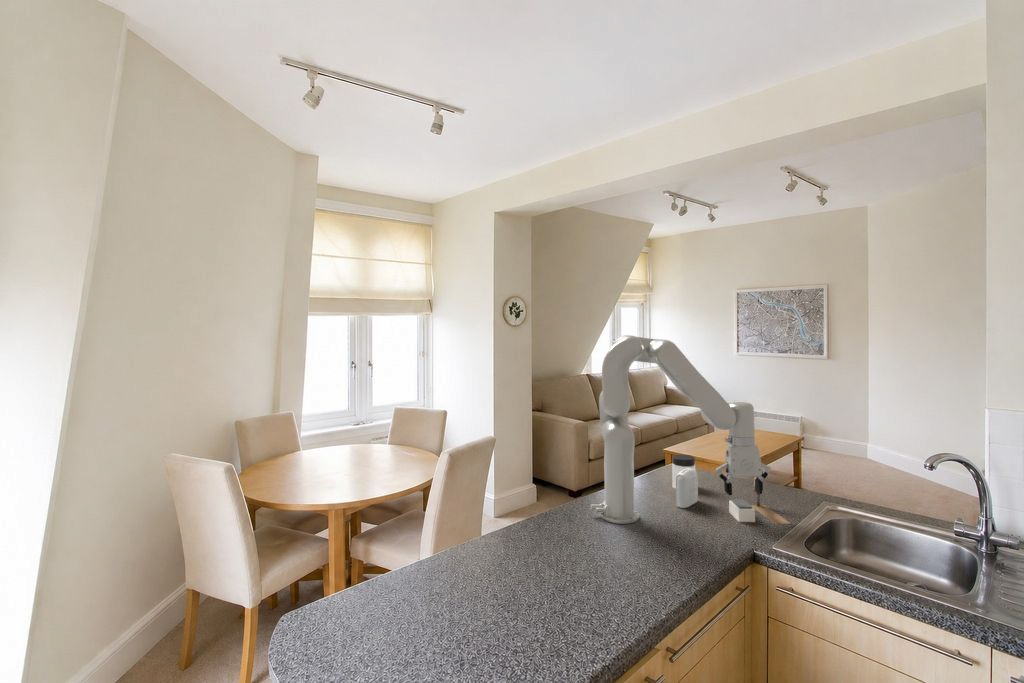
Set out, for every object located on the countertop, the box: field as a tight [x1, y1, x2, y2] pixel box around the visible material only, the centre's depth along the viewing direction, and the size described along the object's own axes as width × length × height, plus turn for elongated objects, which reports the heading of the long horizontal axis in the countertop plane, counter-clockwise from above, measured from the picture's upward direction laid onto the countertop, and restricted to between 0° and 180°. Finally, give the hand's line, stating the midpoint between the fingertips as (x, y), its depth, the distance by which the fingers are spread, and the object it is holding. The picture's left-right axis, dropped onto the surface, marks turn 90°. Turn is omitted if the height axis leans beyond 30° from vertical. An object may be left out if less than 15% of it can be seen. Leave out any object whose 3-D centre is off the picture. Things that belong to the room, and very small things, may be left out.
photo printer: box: [675, 468, 699, 509], centre depth 170 cm, size 10×4×12 cm, turn 134°
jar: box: [671, 453, 696, 490], centre depth 187 cm, size 9×8×12 cm
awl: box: [753, 477, 764, 506], centre depth 166 cm, size 3×3×10 cm
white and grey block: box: [728, 499, 756, 523], centre depth 157 cm, size 5×8×5 cm, turn 176°
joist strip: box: [750, 504, 792, 525], centre depth 159 cm, size 5×16×1 cm, turn 0°
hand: (743, 493), depth 157 cm, fingers open, 9 cm apart
